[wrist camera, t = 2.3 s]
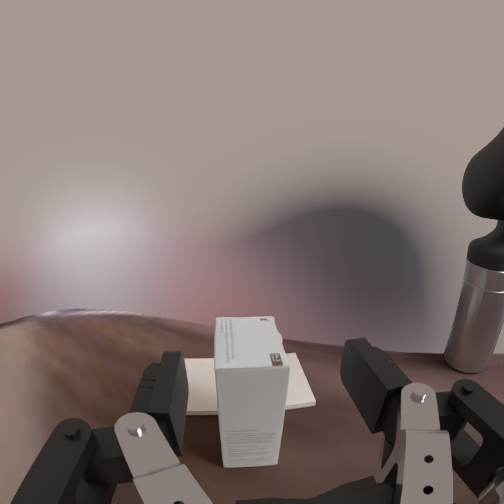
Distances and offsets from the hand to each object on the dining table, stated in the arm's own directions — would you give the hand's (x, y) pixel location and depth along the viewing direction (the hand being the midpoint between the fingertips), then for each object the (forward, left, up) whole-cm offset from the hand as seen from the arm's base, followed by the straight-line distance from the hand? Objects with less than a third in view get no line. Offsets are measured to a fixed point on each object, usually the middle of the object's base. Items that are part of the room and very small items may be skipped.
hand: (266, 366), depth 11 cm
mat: (0, -23, -20) cm, 30 cm away
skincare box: (0, -12, -20) cm, 23 cm away
